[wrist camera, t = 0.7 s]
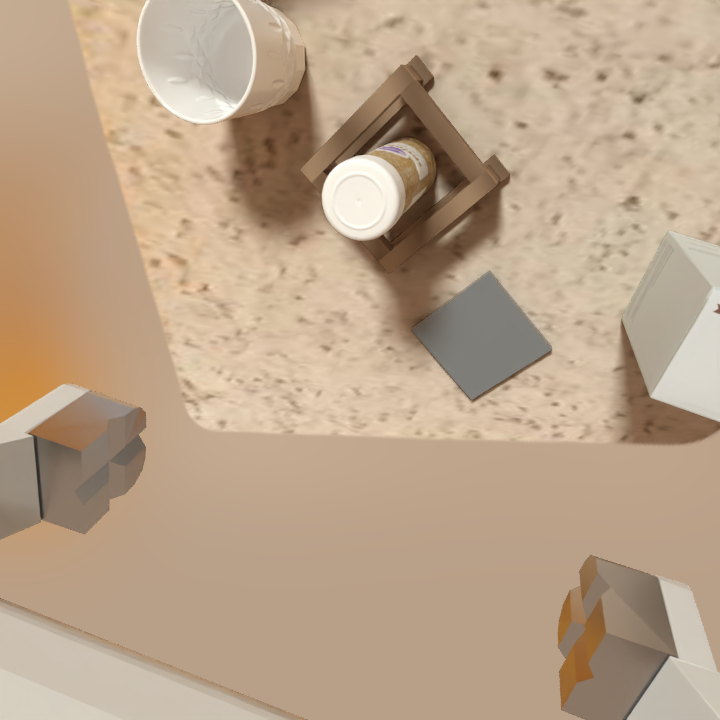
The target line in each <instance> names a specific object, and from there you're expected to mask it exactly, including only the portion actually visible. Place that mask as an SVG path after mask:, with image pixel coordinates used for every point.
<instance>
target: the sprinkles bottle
mask: <svg viewBox="0 0 720 720" xmlns="http://www.w3.org/2000/svg"><path fill="white" fill-rule="evenodd" d="M435 176H436V162H435V159H434V156H433V154H432V152H431V150H430V149H429V148H428V147H427V146H426V145H425V144H424V143H422V142H421V141H419V140H417V139H415V138H410V137H406V138H399V139H397V140H394V141H392V142H390V143H389V144H386V145H384V146H382V147H380V148H377V149H375V150H373V151H372V152H370V153H369V154H366V155H359V156H355V157H352V158H350V159H347V160H345V161H344V162H342V163H340V164H339V165H337V166H336V167H335V168H334V169H333V170H332V171H331V172H330V174H329V175H328V176H327V178H326V180H325V183H324V186H323V190H322V206H323V210H324V213H325V215H326V217H327V219H328V221H329V223H330V224H331V225H332V226H333V228H334V229H335V230H336V231H338V232H339V233H340V234H342V235H343V236H345V237H347V238H350V239H353V240H358V241H367V240H372V239H375V238H378V237H380V236H381V235H383V234H384V233H386V232H387V231H388V230H390V229H391V228H392V227H393V226H394V225H395V224H396V222H397V221H398V220H399V218H400V217H401V215H402V214H404V213H405V212H406V211H407V210H408V209H409V208H410V207H411V206H412V205H413V204H414V203H415V202H416V201H417V200H418V199H419V198H420V197H421V196H422V195H423V194H425V193H426V192H427V191H428V189H429V188H430V187H431V185H432V184H433V181H434V179H435Z"/></svg>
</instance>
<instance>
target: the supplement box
mask: <svg viewBox="0 0 720 720" xmlns="http://www.w3.org/2000/svg"><path fill="white" fill-rule="evenodd" d="M622 322H623V324H624V327H625V330H626V333H627V335H628V338H629V341H630V343H631V346H632V349H633V351H634V354H635V357H636V360H637V363H638V365H639V368H640V371H641V374H642V376H643V379H644V382H645V384H646V387H647V390H648V393H649V396H650V398H652V399H655V400H658V401H660V402H663V403H666V404H669V405H672V406H674V407H677V408H680V409H683V410H686V411H688V412H691V413H694V414H697V415H700V416H703V417H705V418H708V419H711V420H714V421H717V422H720V246H717V245H714V244H711V243H708V242H705V241H702V240H698V239H695V238H692V237H689V236H686V235H682V234H679V233H676V232H673V231H668V232H667V234H666V236H665V237H664V239H663V241H662V243H661V245H660V247H659V249H658V250H657V252H656V254H655V256H654V258H653V260H652V262H651V263H650V265H649V267H648V269H647V271H646V273H645V275H644V277H643V278H642V280H641V282H640V284H639V286H638V288H637V290H636V292H635V293H634V295H633V297H632V299H631V301H630V303H629V305H628V307H627V309H626V310H625V312H624V314H623V316H622Z"/></svg>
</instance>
